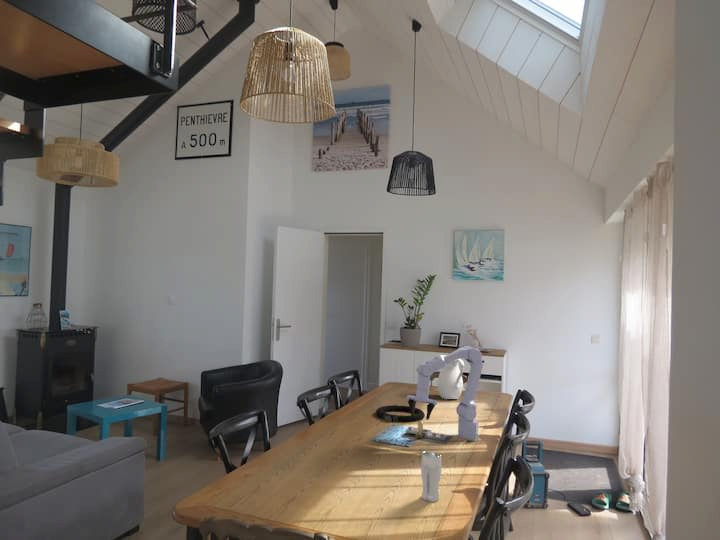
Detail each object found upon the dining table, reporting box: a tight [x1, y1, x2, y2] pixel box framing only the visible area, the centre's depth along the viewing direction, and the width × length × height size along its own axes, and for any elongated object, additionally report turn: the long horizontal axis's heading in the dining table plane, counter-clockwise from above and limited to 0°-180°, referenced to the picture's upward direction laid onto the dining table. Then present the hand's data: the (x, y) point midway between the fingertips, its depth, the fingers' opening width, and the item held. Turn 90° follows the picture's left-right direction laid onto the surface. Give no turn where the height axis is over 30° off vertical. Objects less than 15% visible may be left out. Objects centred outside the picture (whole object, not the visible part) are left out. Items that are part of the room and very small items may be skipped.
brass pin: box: [417, 420, 424, 439], centre depth 242 cm, size 2×2×8 cm
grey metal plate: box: [405, 426, 448, 441], centre depth 247 cm, size 19×6×3 cm, turn 66°
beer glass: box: [420, 450, 443, 503], centre depth 176 cm, size 7×7×15 cm
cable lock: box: [375, 404, 426, 423], centre depth 287 cm, size 28×4×30 cm
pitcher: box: [436, 354, 465, 400], centre depth 338 cm, size 24×17×28 cm
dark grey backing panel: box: [400, 431, 454, 445], centre depth 246 cm, size 22×16×1 cm
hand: (420, 417), depth 243 cm, fingers open, 7 cm apart
